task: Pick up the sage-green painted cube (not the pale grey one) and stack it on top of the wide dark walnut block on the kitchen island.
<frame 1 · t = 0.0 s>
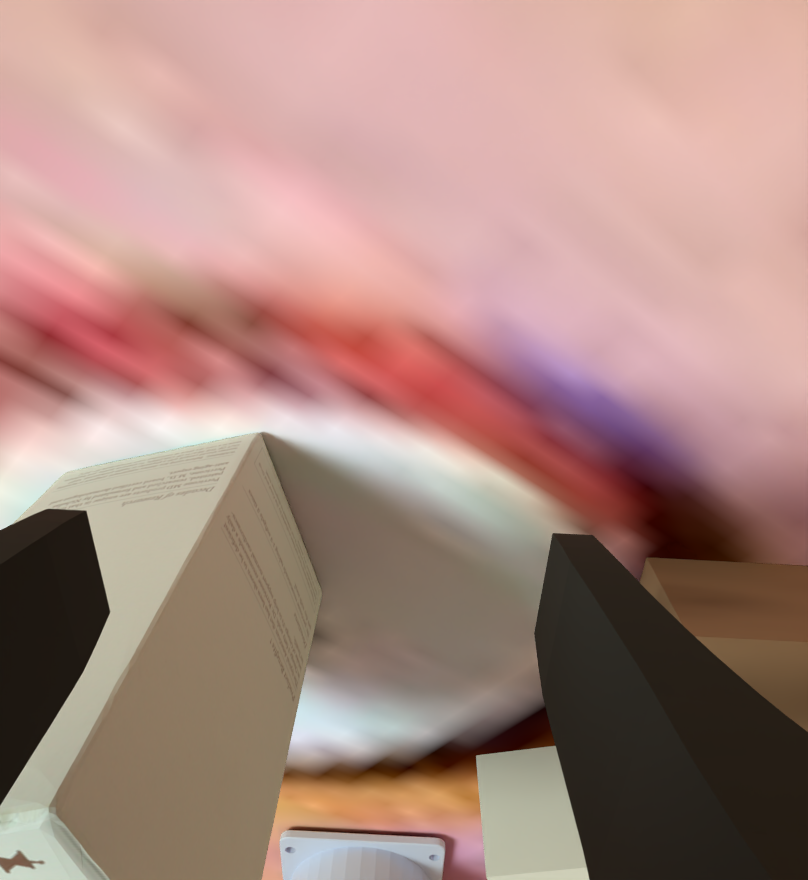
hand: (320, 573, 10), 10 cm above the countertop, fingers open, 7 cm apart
walnut block: (705, 621, 23), on the countertop
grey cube: (539, 782, 28), on the countertop
supplement box: (203, 532, 22), on the countertop
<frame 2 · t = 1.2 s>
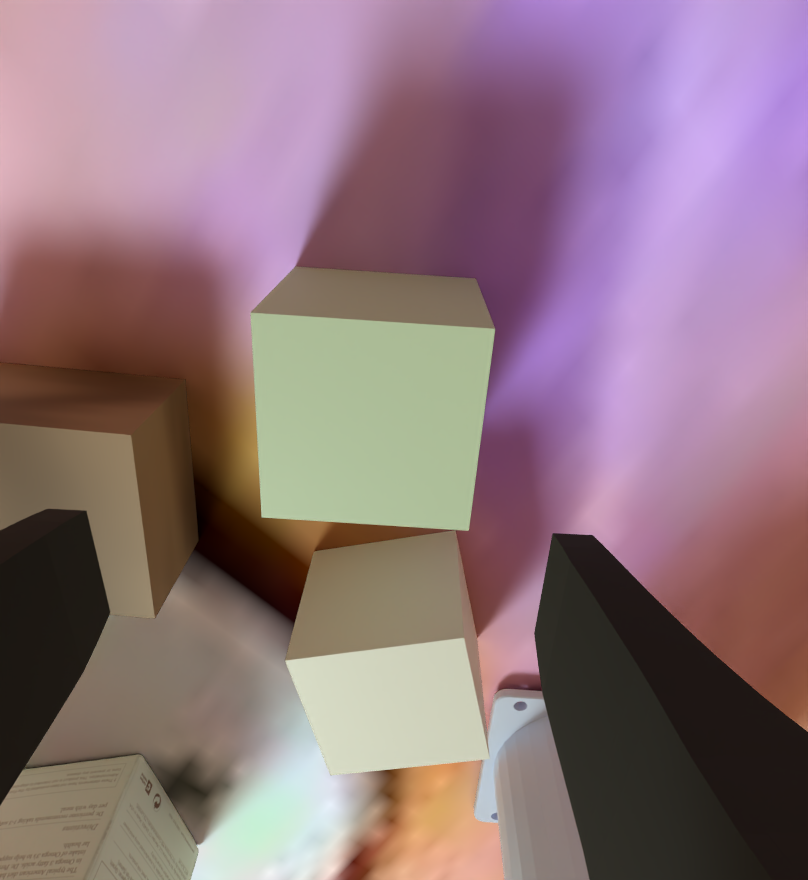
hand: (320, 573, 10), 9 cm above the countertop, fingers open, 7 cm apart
walnut block: (102, 454, 20), on the countertop
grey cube: (398, 594, 22), on the countertop
sage cube: (381, 357, 18), on the countertop
supplement box: (106, 805, 28), on the countertop
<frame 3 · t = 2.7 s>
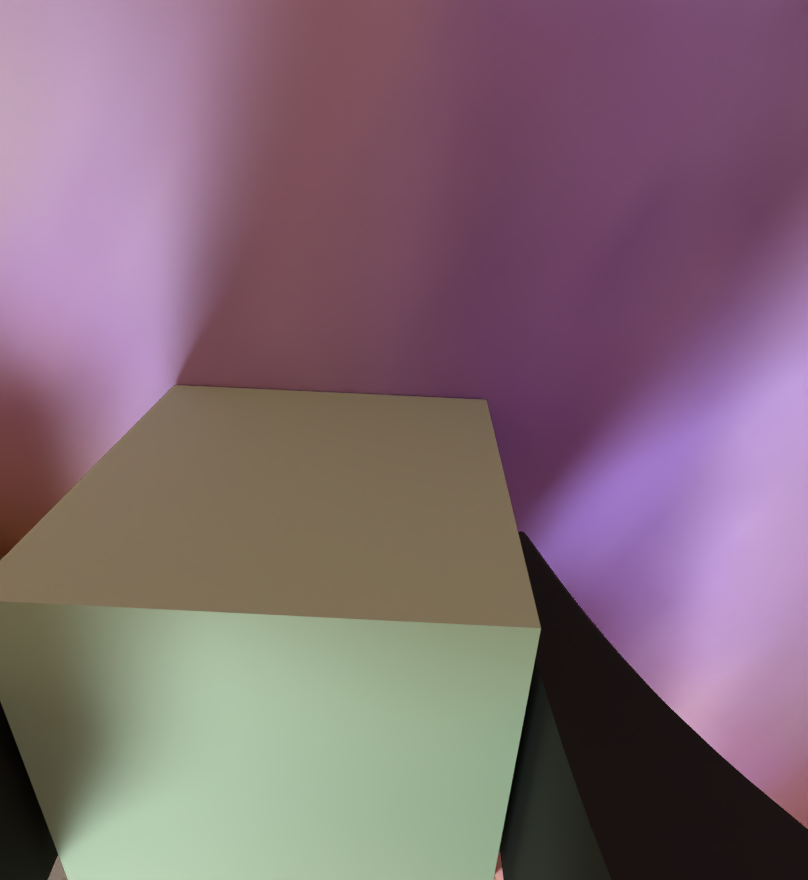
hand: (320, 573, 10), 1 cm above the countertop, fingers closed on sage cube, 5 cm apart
sage cube: (332, 521, 11), on the countertop, touching gripper
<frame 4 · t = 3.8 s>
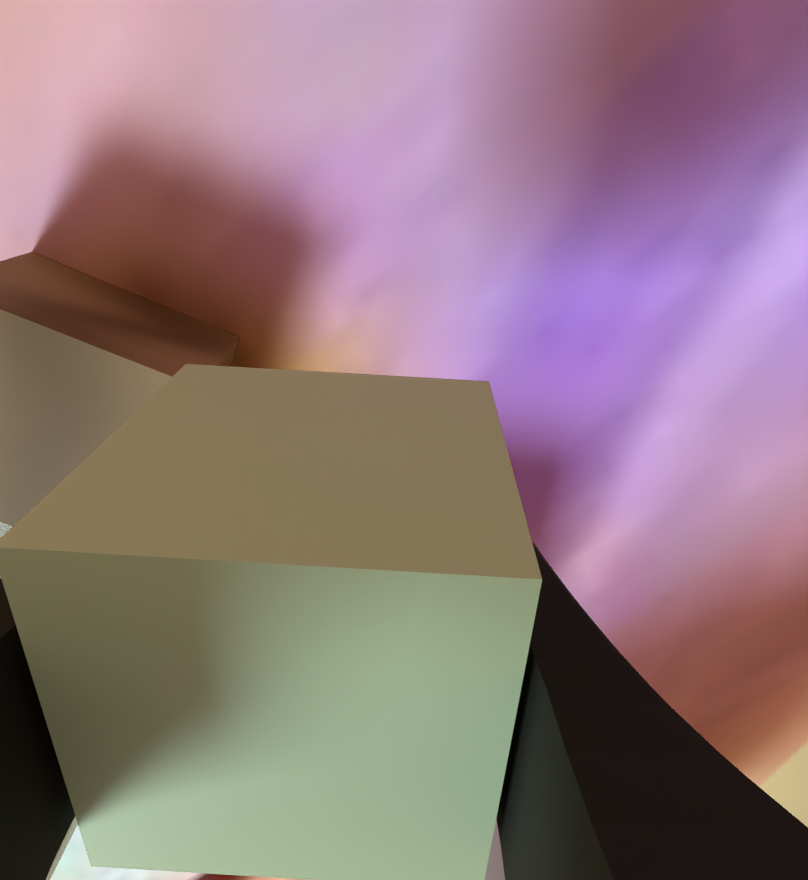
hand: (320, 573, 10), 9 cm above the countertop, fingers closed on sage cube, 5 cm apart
walnut block: (120, 383, 19), on the countertop
sage cube: (337, 501, 11), point 8 cm above the countertop, touching gripper
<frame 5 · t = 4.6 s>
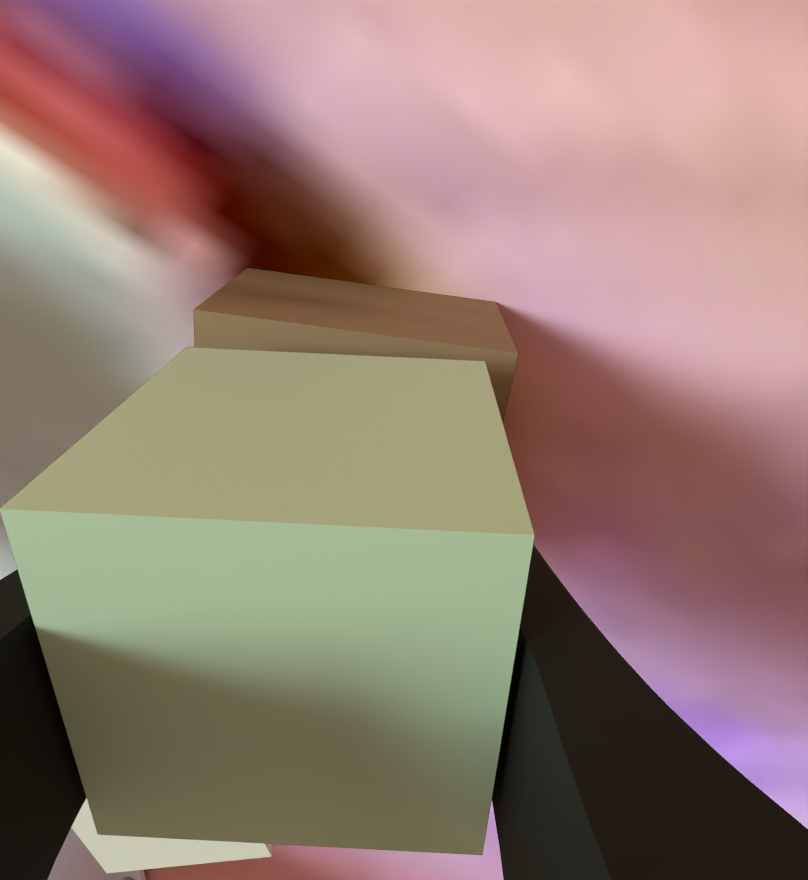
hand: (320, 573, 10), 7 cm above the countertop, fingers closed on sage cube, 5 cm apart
walnut block: (361, 396, 16), on the countertop
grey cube: (211, 663, 20), on the countertop
sage cube: (337, 483, 11), point 5 cm above the countertop, touching gripper
when the fingers open (6 cm above the countertop, at t = 5.2 s): sage cube stays where it is, point 4 cm above the countertop.
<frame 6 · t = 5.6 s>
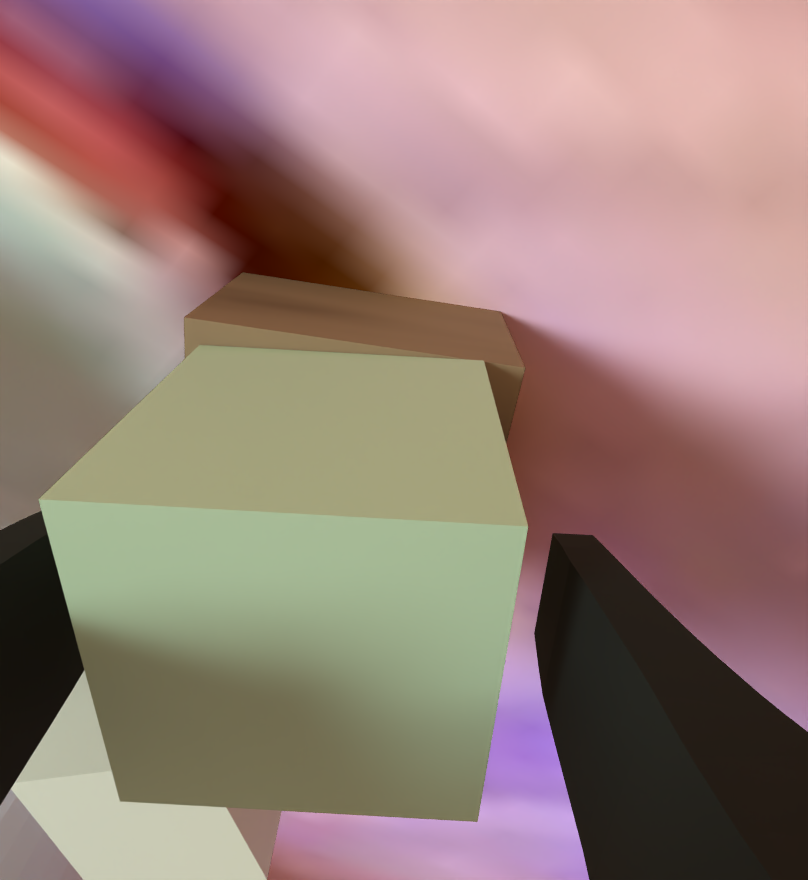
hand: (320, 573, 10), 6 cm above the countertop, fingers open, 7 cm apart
walnut block: (359, 406, 15), on the countertop
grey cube: (206, 677, 20), on the countertop
sage cube: (341, 475, 12), point 4 cm above the countertop
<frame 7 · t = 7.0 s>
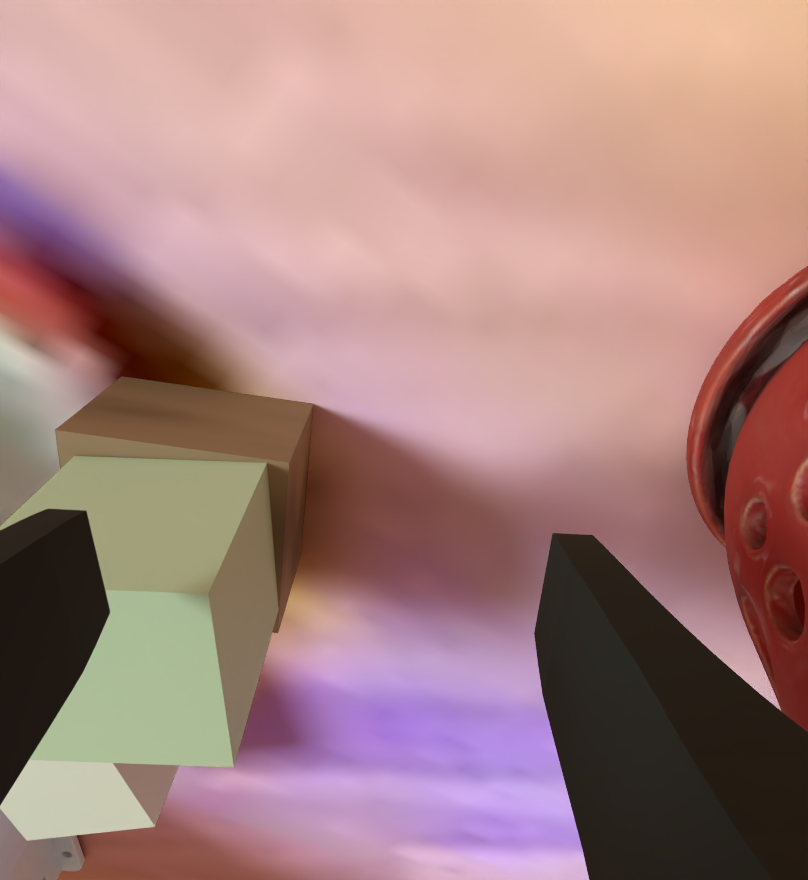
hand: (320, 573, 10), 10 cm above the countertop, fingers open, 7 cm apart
walnut block: (219, 469, 20), on the countertop
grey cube: (122, 672, 25), on the countertop
sage cube: (183, 538, 17), point 4 cm above the countertop
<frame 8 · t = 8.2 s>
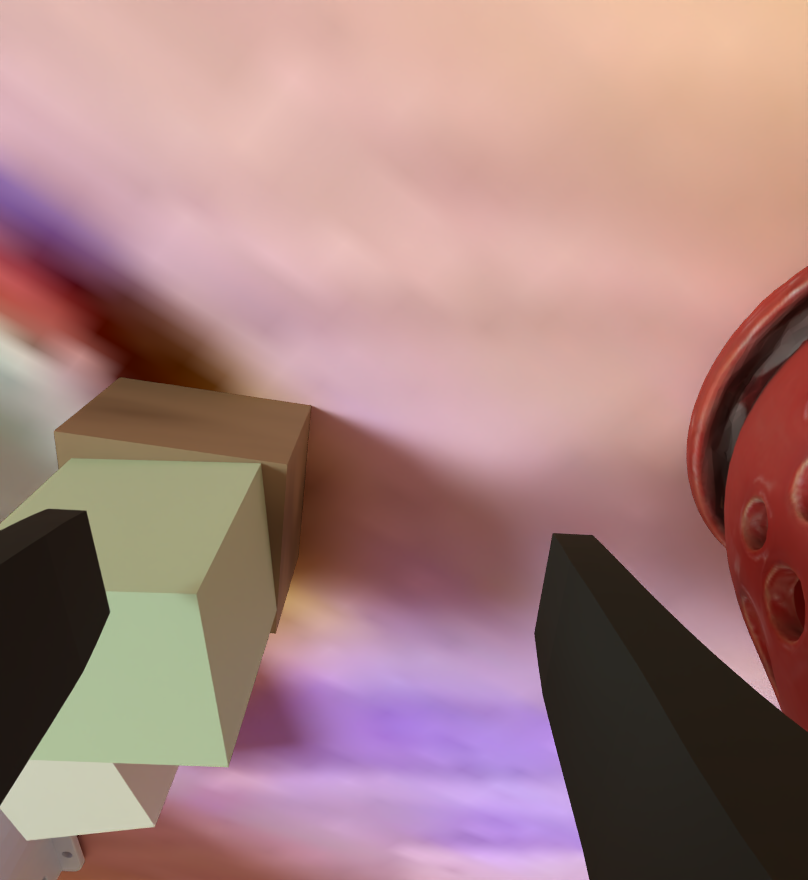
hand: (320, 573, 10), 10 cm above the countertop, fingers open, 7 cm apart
walnut block: (217, 470, 21), on the countertop
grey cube: (122, 672, 25), on the countertop
sage cube: (180, 539, 17), point 4 cm above the countertop
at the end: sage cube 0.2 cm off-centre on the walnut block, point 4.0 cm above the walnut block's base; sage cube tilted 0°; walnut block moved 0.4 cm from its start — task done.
